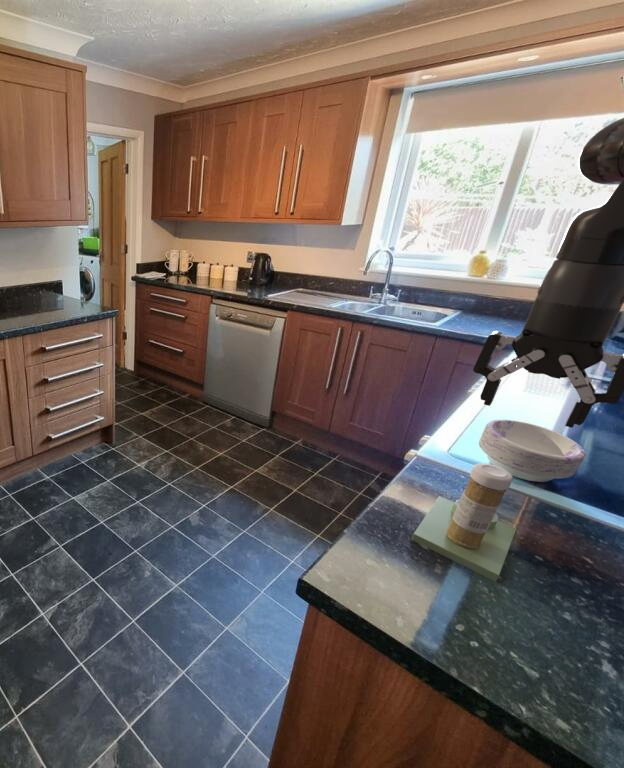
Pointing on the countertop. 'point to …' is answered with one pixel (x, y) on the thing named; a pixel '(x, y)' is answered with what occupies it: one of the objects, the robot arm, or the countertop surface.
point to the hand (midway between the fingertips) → (526, 413)
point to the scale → (479, 560)
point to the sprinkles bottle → (478, 504)
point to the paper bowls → (530, 450)
